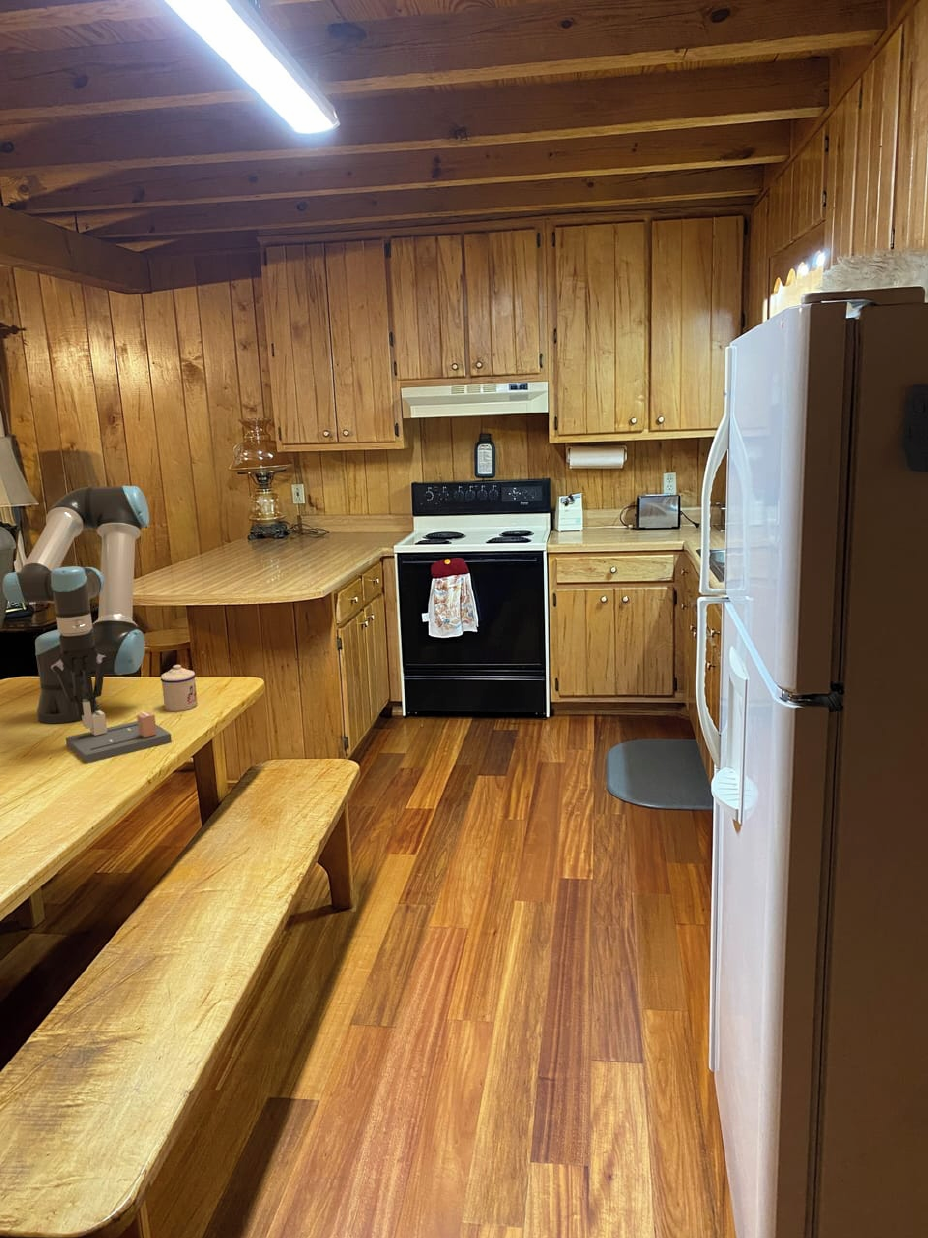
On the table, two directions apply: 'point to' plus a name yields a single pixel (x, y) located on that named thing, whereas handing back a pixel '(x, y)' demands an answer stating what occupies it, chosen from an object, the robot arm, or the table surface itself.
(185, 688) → the teacup with lid
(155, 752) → the table surface
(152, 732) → the fader
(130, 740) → the mixer board
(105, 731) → the fader
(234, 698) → the table surface
